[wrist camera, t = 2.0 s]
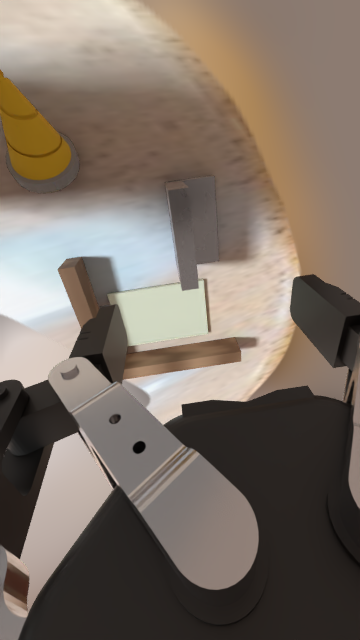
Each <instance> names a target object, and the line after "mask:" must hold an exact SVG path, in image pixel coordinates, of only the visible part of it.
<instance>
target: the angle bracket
mask: <svg viewBox="0 0 360 640" xmlns="http://www.w3.org/2000/svg"><path fill="white" fill-rule="evenodd" d="M165 188H166V195H167V202H168V209H169V216H170V222H171V229H172V236H173V243H174V250H175V257H176V264H177V269H178V274H179V279H180V284H181V289H182V291H185V290H192V289H198V288H199V284H198V274H197V264H202V263H208V262H215V261H219V250H218V231H217V212H216V194H215V176H214V175H210V176H203V177H197V178H190V179H184V180H177V181H171V182H165Z"/></svg>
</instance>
